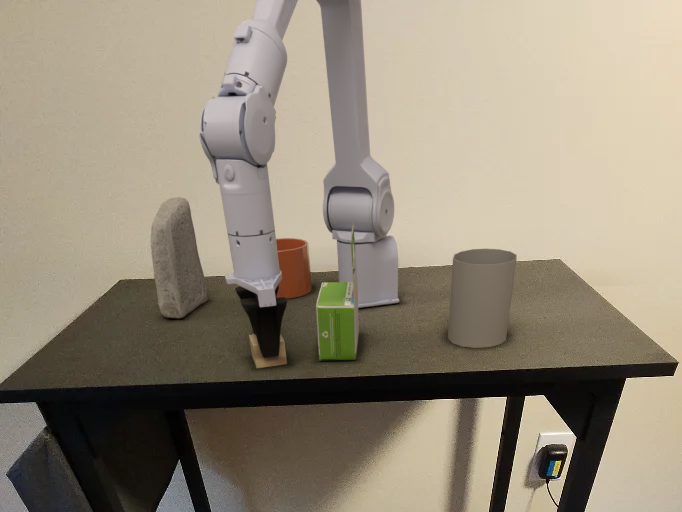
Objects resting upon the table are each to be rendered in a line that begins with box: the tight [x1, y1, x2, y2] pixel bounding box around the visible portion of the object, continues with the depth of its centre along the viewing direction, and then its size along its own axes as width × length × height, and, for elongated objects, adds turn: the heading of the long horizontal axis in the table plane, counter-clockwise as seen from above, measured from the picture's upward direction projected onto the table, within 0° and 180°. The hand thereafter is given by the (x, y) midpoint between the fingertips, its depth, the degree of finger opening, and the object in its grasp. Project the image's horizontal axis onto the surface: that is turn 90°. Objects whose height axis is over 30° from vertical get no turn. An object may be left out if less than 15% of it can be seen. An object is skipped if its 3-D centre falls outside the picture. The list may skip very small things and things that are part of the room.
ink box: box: [315, 224, 360, 362], centre depth 79 cm, size 10×5×14 cm, turn 178°
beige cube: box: [248, 333, 288, 369], centre depth 80 cm, size 4×4×3 cm
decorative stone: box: [150, 196, 209, 319], centre depth 94 cm, size 11×6×15 cm, turn 168°
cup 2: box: [447, 248, 518, 349], centre depth 81 cm, size 8×8×10 cm
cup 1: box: [276, 237, 313, 300], centre depth 102 cm, size 9×9×7 cm
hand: (268, 350), depth 80 cm, fingers closed on beige cube, 4 cm apart
